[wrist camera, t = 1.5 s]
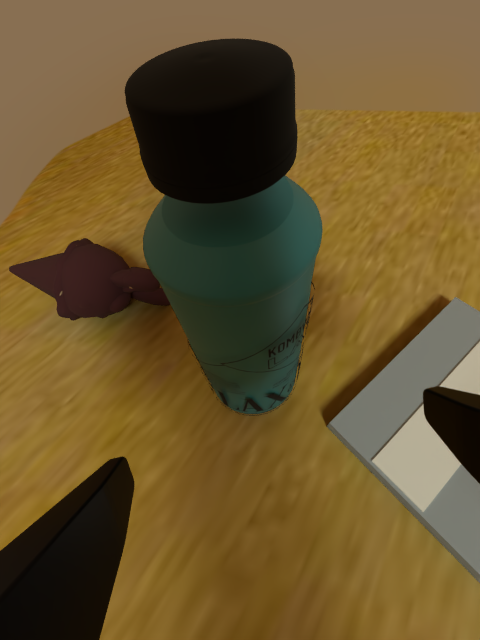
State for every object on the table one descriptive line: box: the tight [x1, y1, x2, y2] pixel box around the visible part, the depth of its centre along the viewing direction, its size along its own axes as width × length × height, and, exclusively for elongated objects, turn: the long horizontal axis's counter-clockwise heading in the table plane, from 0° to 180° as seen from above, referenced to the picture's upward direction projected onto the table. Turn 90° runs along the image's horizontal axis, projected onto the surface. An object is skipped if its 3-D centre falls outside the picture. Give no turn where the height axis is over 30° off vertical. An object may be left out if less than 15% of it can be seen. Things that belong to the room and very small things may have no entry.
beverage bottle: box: [125, 39, 322, 416], centre depth 15 cm, size 6×7×20 cm
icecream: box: [9, 238, 170, 321], centre depth 26 cm, size 7×7×15 cm
